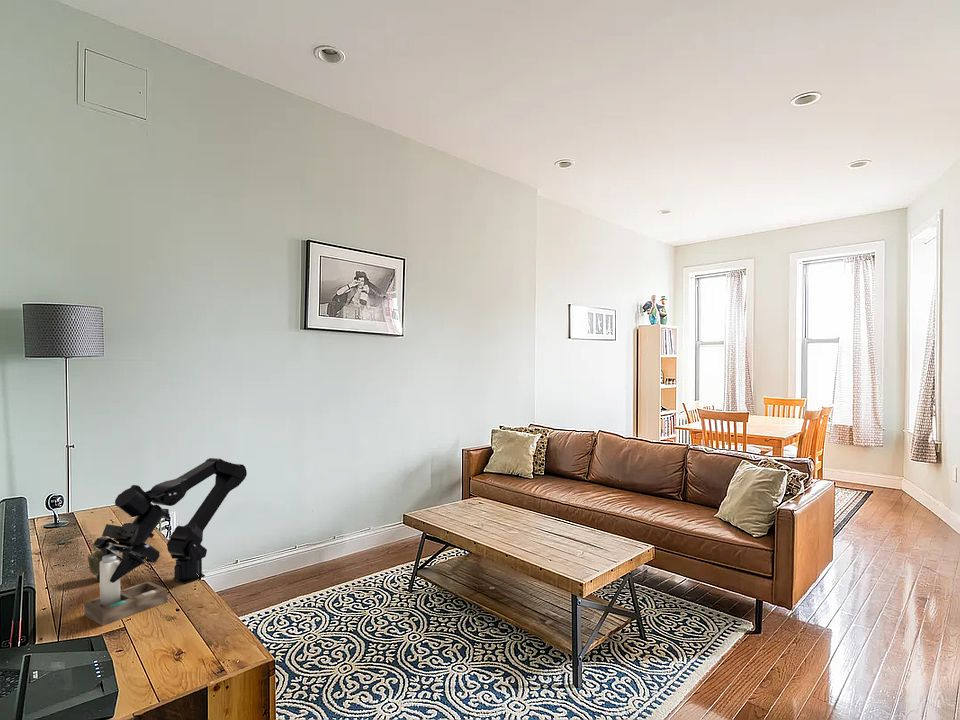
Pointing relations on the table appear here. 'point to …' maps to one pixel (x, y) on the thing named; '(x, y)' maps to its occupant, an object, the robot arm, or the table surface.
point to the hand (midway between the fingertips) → (104, 580)
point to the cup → (95, 562)
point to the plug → (107, 588)
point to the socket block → (126, 603)
